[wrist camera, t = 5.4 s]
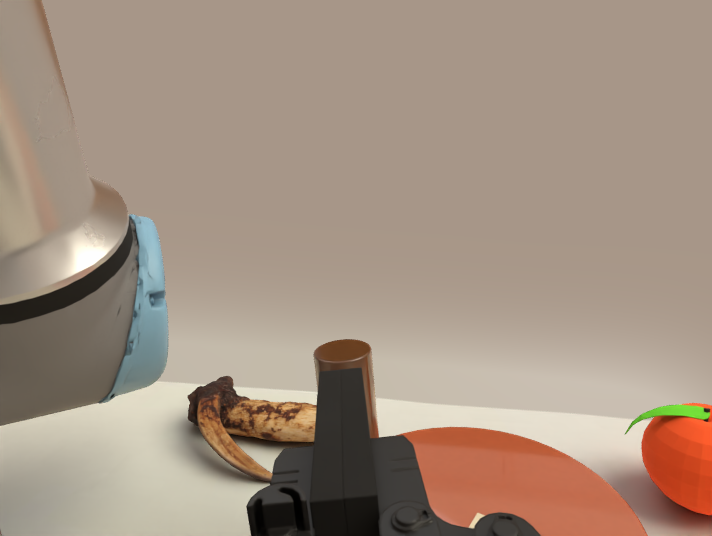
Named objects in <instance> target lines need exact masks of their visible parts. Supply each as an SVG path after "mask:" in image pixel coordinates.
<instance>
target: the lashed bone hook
mask: <svg viewBox="0 0 712 536" xmlns="http://www.w3.org/2000/svg"><path fill="white" fill-rule="evenodd" d="M188 399H189V401H190V405H189V410H188V420H189V421H191V422H193V423H194V425H195V426H198V427H199V429H200V431H201V433H202V435H203V437H204V438H205V440H206V441H207V443H208V444H209V445H210V446H211V447H212V449H213V450H214V451H215V452H216V453H217V454H218V455H219V456H220V457H221V458H223V459H224V460H225V461H226V462H227V463H229V464H230V465H232V466H233V467H234V468H236V469H238V470H239V471H241V472H243V473H245V474H247V475H249V476H251V477H253V478H256V479H259V480H263V481H267V482H271V477H272V475H273V474H272V473H270V472H269V471H267V470H266V469H265V468H263V467H262V466H260V465H259V464H258V463H257V462H255V461H254V460H253V459H252V458H251V457H249V456H248V455H247V454H246V453H245V452H244V451H243V450H242V449H241V448H240V447H239V446H238V445H237V444H236V443H235V442H234V441H233V439H232V438H231V437H230V436H229V434H235V435H240V436H246V437H250V436H253V437H257V438H261V439H266V440H272V441H293V442H314V435H315V422H316V408H317V405H312V404H308V403H296V402H285V403H283V402H269V401H265V400H251V399H249V398H247V397H241V396H238V395H237V394H236V391H235V390H234V389H233V379H232V378H231V377H230V376H225V377H220V378H219V379H218V380H217V381H214V382H211V383H209V384H208V385H206V386H204V387H202V386H200V387H198V388H196V390H195V391H194V392H192V393H191V394H190V395H188ZM228 433H229V434H228Z"/></svg>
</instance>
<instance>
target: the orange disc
mask: <svg viewBox="0 0 712 536" xmlns="http://www.w3.org/2000/svg"><path fill="white" fill-rule="evenodd" d="M314 363H315V371H316V380H317V389H318V382H319V372H321V371H331V370H340V369H350V368H360V367H362V375H363V383H364V391H365V399H366V407H367V415H368V423H369V431H370V438H379V434H378V422H377V411H376V399H375V387H374V376H373V364H372V352H371V347H370V345H369V344H367V343H365V342H363V341H360V340H352V339H351V340H350V339H345V340H337V341H332V342H328V343H326V344H323V345H321V346H319V347H318V348H317V349H316V350H315V351H314ZM400 435H404V436H405V437H406V438H407V439H408V440H409V441H410V442H411V443H412V444H413V446H414V449H415V453H416V458H417V461H418V464H419V468H420V472H421V475H422V479H423V483H424V486H425V490H426V494H427V497H428V501H429V505H430V507H431V509H432V510H433V511H434V513H435V514H436V515H437V516H438V517H439V518H441V519H442V520H443V521H446V522H448V523H450V524H453V525H457V526H461V527H468V528H474V527H475V524H476V523H477V522H478V520H479V519H480V518H482V517H484V516H486V515H487V514H491V513H498V512H503V513H510V514H514V515H516V516H518V517H521V518H523V519H525V520H526V521H527V522H528V523H529V524H531V525H532V526H533V527H534V528H535V529H536V530H537V532H538V533H539V534H540V535H541V536H648V535H647V534H646V532H645V530H644V528H643V526H642V524H641V522H640V521H639V519H638V517H637V516H636V515H635V513H634V512H633V510H632V509H631V508H630V506H629V505H628V504H627V502H626V501H625V500H624V499H623V498H622V497H621V496H620V495H619V494H618V493H617V491H616V490H615V489H614V488H613V487H611V486H610V485H609V484H608V483H607V482H606V481H605V480H603V479H602V478H601V477H600V476H599V475H597V474H596V473H595V472H593V471H592V470H590V469H589V468H588V467H586V466H585V465H583V464H582V463H580V462H578V461H577V460H575V459H573V458H572V457H570V456H568V455H566V454H564V453H562V452H560V451H558V450H556V449H554V448H552V447H549V446H547V445H544V444H542V443H539V442H537V441H534V440H531V439H528V438H524V437H521V436H518V435H514V434H509V433H505V432H501V431H495V430H488V429H481V428H469V427H443V428H431V429H423V430H417V431H412V432H407V433H403V434H400ZM396 436H399V435H396Z"/></svg>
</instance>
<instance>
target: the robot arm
mask: <svg viewBox="0 0 712 536" xmlns="http://www.w3.org/2000/svg"><path fill="white" fill-rule="evenodd" d="M164 297H165V276H164V267H163V259H162V253H161V247H160V241H159V237H158V233H157V229H156V226H155V224H154V222H153V221H152V220H151V219H149V218H147V217H138V216H136V215H132V214H131V215H128V210H127V207H126V204H125V203H124V201H123V199H122V197H121V196H120V195H119V193H118V192H117V191H116V190H115V189H114V188H112V187H111V186H110V185H108V184H107V183H105V182H103V181H101V180H99V179H97V178H95V177H93V176H90V175H89V174H88V170H87V166H86V163H85V159H84V155H83V152H82V148H81V144H80V140H79V137H78V133H77V130H76V126H75V122H74V119H73V115H72V111H71V107H70V104H69V100H68V96H67V92H66V88H65V85H64V81H63V77H62V74H61V70H60V66H59V62H58V59H57V55H56V51H55V48H54V44H53V40H52V37H51V33H50V30H49V25H48V22H47V18H46V14H45V11H44V7H43V4H42V0H0V426H2V425H6V424H10V423H15V422H19V421H23V420H27V419H32V418H36V417H40V416H44V415H48V414H53V413H57V412H61V411H65V410H70V409H74V408H78V407H82V406H86V405H91V404H95V403H105V402H108V401H110V400H111V399H113V398H114V397H115V396H118V395H122V394H125V393H128V392H131V391H135V390H138V389H142V388H145V387H147V386H150V385H151V384H153V383H154V382H155V381H157V380H158V378H159V377H160V376H161V374H162V373H163V371H164V369H165V366H166V362H167V356H168V315H167V305H166V300H165V298H164ZM272 474H273V475H272V477H271V483H270V486H267V487H266V488H264V489H262V490H260V491H258V492H257V493H256V494H255V495H254V496H253V497H251V499H250V501H249V502H248V504H247V506H246V507H247V513H248V519H249V525H250V531H251V536H541V535H540V534H539V533H538V532H537V530H536V529H535V528H534V527H533V526H532V525H531V524H529V523H528V522H527V521H526V520H525V519H523V518H521V517H518V516H516V515H514V514H510V513H503V512H498V513H491V514H487V515H486V516H484V517H482V518H480V519H479V520H478V522H477V523H476V524H475V527H474V528H468V527H461V526H457V525H453V524H450V523H448V522H446V521H443V520H442V519H441V518H439V517H438V516H437V515H436V514H435V513H434V511H433V510H432V509H431V507H430V505H429V501H428V497H427V494H426V490H425V486H424V483H423V479H422V475H421V472H420V468H419V464H418V461H417V458H416V453H415V449H414V446H413V444H412V443H411V442H410V441H409V440H408V439H407V438H406V437H405V436H404V435H399V436H389V437H380V438H370V431H369V423H368V415H367V407H366V399H365V391H364V383H363V375H362V367H360V368H350V369H340V370H331V371H321V372H319V382H318V395H317V408H316V422H315V435H314V446H306V447H296V448H287V449H284V450H283V451H282V452H281V453H280V455H279V456H278V457H277V458H276V460H275V462H274V467H273V472H272ZM0 536H2V534H1V531H0Z"/></svg>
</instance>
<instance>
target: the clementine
mask: <svg viewBox="0 0 712 536" xmlns="http://www.w3.org/2000/svg"><path fill="white" fill-rule="evenodd" d="M651 417H654V418H653V419H652V421H651V422H650V424H649V425H648V426H647V428H646V429H645V431H644V435H643V439H642V457H643V462H644V464H645V467H646V469H647V471H648V473H649V475H650V477H651V479H652V481H653V482H654V483H655V484H656V485H657V486H658V488H659V489H660V490H661V491H662V492H663V493H664V494H665V495H666V496H667V497H668V498H670V499H671V500H672V501H674V502H675V503H677V504H679V505H681V506H683V507H685V508H687V509H689V510H692V511H694V512H697V513H701V514H705V515H712V406H711V405H706V404H698V403H689V404H682V405H669V406H663V407H659V408H656V409H653V410H651V411H648V412H646V413H643V414H642V415H640V416H639V417H638V418H636V419H635V420H634V421H633V422H632V423H631V425H630V426H629V428H628V430H627V431H626V433H627V432H628V431H629V429H630V428H631V427H632V426H633V425H634V424H636V423H637V422H639V421H641V420H643V419H647V418H651ZM626 433H625V434H626Z"/></svg>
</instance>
